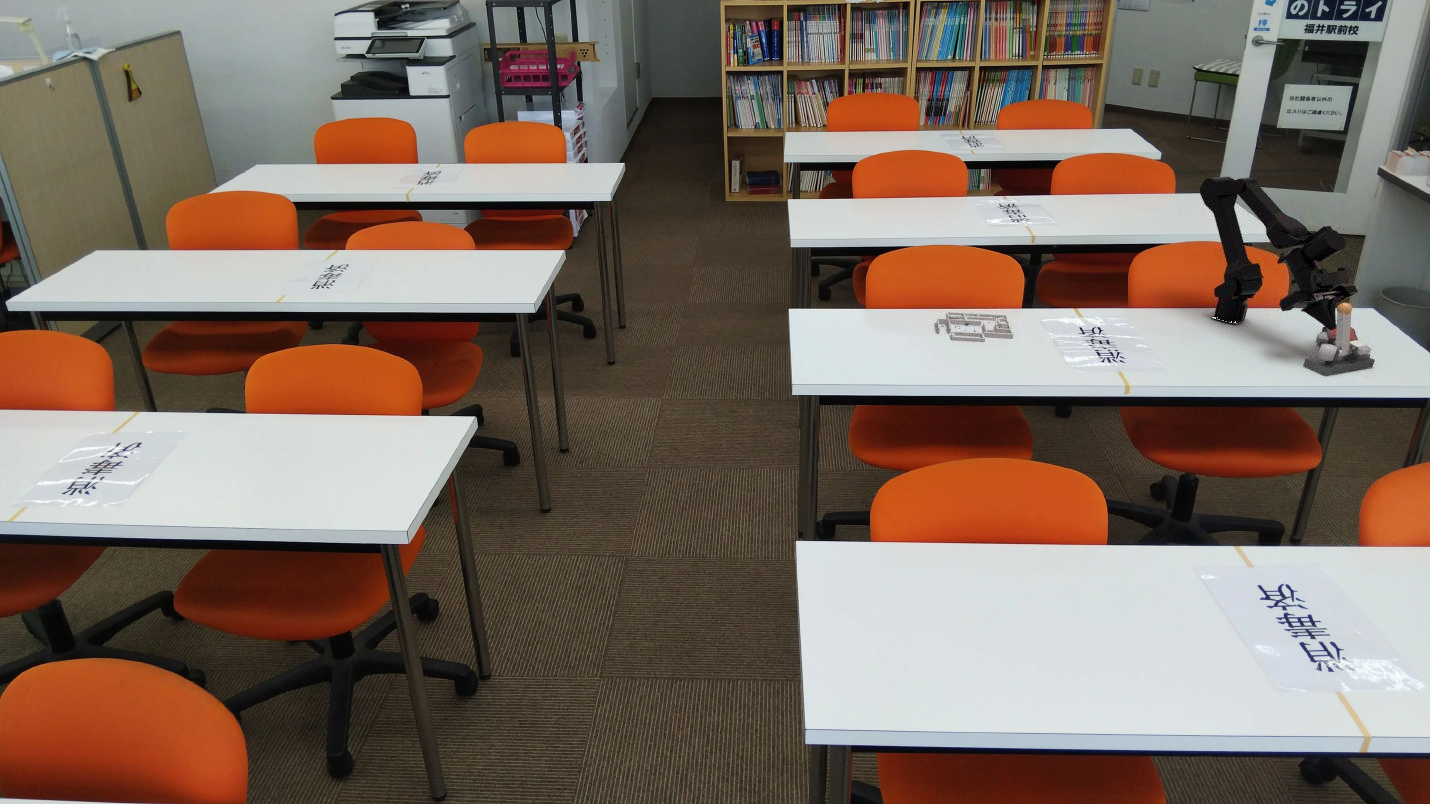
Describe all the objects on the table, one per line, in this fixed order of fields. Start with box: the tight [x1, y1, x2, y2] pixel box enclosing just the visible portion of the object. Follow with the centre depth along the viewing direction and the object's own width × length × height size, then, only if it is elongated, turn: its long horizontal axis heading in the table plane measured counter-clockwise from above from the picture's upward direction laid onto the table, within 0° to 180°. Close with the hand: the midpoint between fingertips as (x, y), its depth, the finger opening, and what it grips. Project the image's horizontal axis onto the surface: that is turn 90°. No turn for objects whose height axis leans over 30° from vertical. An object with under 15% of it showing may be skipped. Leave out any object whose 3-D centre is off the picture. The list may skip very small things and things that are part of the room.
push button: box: [1317, 344, 1337, 361], centre depth 222 cm, size 3×3×3 cm
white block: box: [1350, 339, 1372, 355], centre depth 225 cm, size 4×3×1 cm
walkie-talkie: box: [1315, 323, 1359, 347], centre depth 237 cm, size 9×4×20 cm
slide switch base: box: [1302, 344, 1376, 377], centre depth 225 cm, size 6×15×5 cm, turn 109°
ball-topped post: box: [1336, 302, 1353, 358], centre depth 223 cm, size 3×4×13 cm
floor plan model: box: [936, 311, 1014, 343], centre depth 244 cm, size 19×25×2 cm
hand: (1333, 329), depth 225 cm, fingers closed
